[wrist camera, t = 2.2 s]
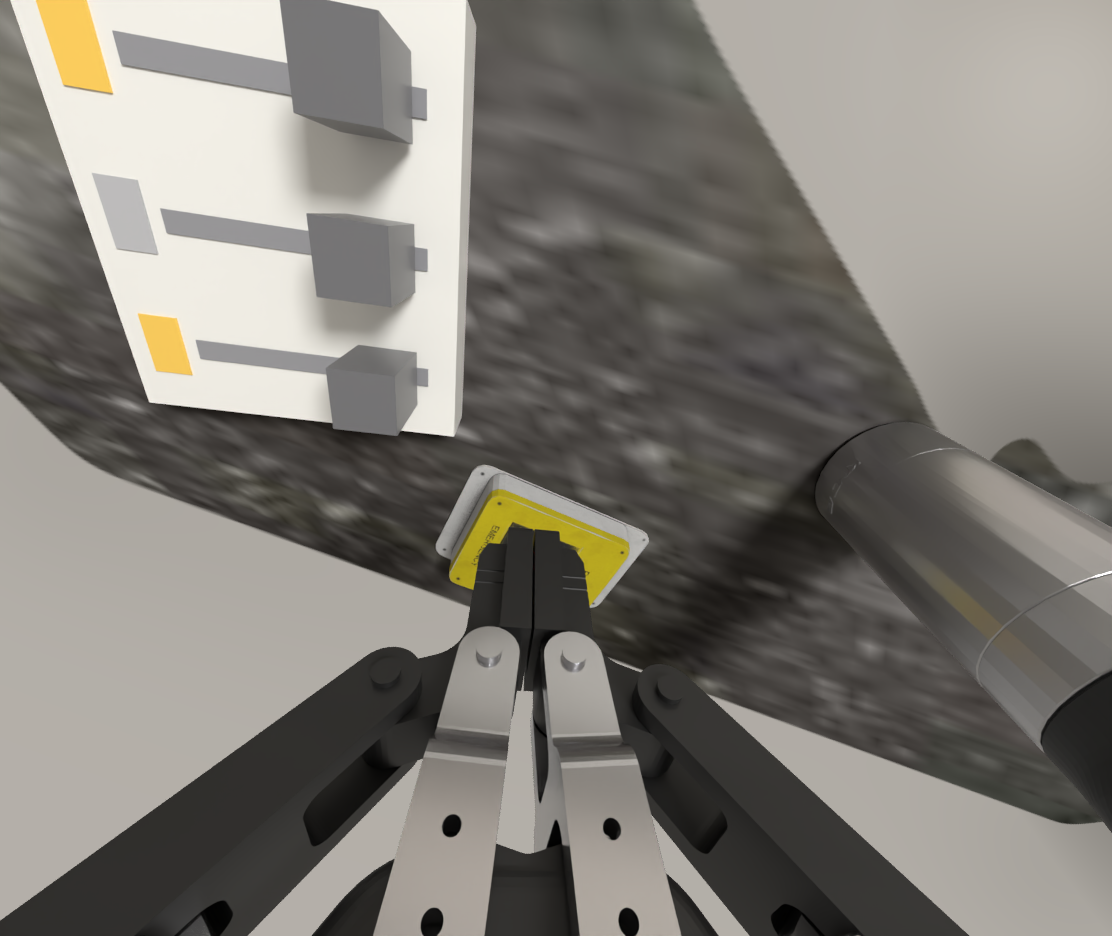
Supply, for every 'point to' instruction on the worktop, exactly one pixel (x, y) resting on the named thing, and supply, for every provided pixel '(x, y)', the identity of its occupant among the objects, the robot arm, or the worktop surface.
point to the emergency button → (521, 504)
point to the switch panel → (256, 196)
